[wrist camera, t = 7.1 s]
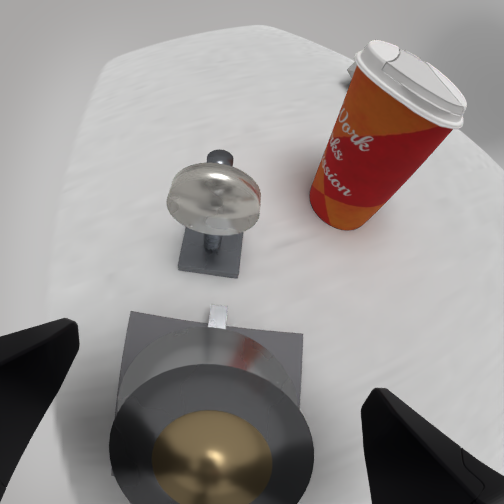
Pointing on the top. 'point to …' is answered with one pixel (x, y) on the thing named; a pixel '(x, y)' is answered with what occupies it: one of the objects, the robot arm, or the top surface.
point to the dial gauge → (213, 214)
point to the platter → (205, 355)
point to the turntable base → (154, 327)
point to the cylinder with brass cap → (210, 440)
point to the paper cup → (382, 133)
